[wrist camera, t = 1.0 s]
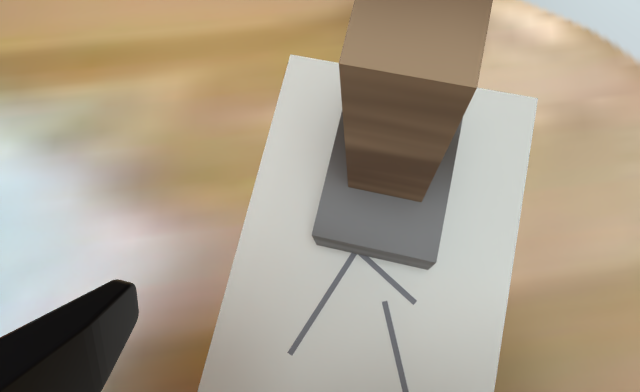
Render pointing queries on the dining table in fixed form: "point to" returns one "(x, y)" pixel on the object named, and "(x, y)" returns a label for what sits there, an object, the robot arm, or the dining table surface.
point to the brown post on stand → (400, 126)
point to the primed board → (370, 263)
